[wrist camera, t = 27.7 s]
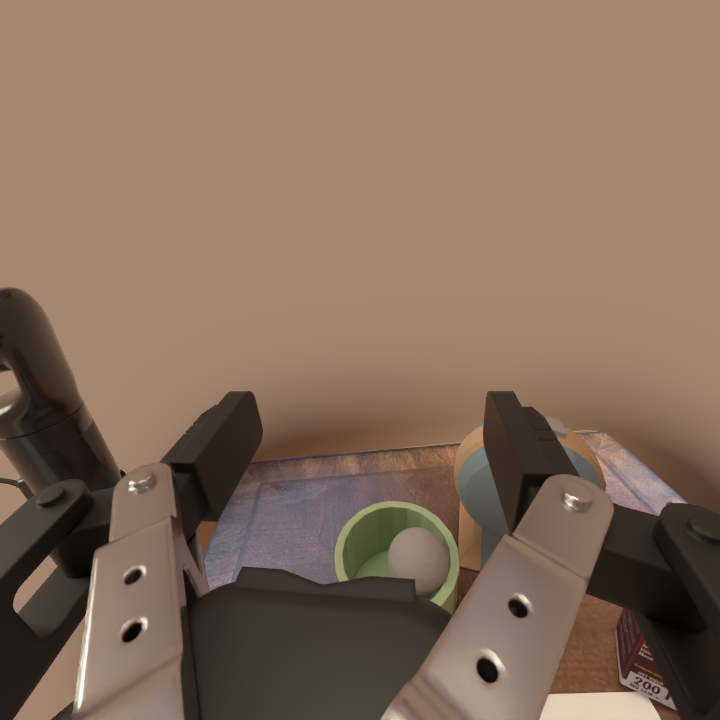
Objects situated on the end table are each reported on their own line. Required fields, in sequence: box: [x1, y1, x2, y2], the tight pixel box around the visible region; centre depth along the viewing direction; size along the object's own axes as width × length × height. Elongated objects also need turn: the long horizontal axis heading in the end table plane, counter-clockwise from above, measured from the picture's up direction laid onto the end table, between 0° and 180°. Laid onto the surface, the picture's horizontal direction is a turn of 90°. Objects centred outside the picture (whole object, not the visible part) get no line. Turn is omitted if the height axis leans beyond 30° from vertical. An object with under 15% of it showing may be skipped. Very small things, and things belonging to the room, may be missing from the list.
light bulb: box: [388, 527, 448, 597], centre depth 33 cm, size 6×6×10 cm
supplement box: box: [615, 502, 677, 711], centre depth 25 cm, size 9×5×16 cm, turn 60°
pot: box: [334, 501, 460, 616], centre depth 34 cm, size 12×12×8 cm
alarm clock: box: [454, 415, 606, 572], centre depth 37 cm, size 14×10×18 cm
